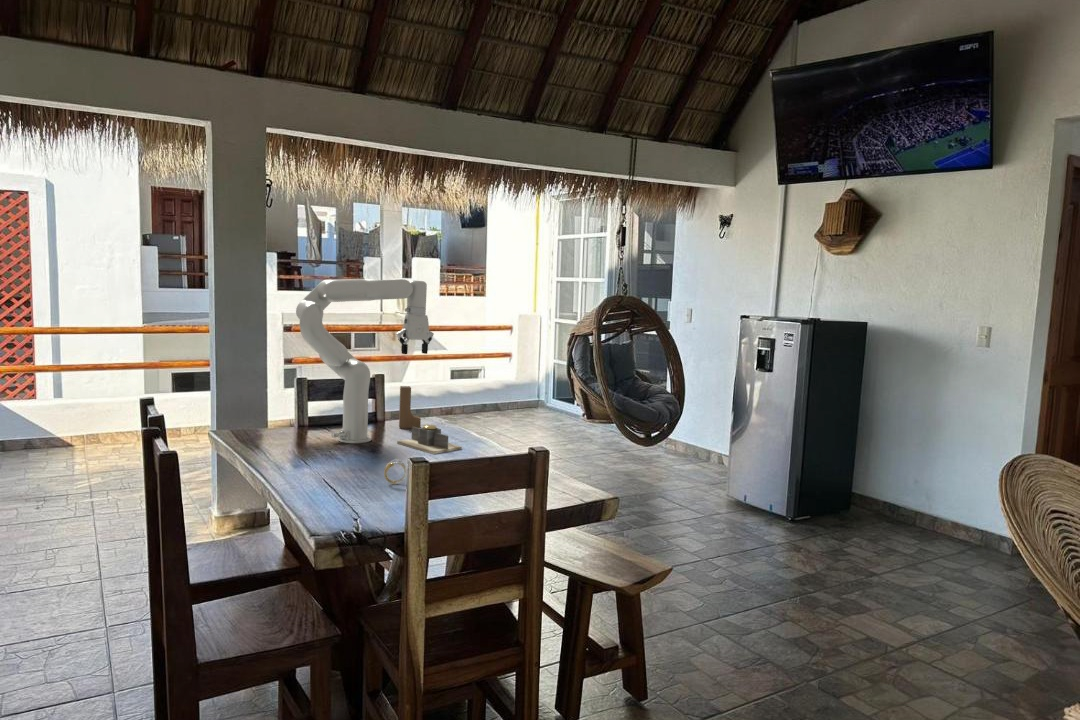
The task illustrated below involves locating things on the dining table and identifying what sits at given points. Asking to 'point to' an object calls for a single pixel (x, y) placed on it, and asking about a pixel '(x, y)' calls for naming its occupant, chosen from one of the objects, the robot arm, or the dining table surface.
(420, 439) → the hinge base
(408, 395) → the wooden block
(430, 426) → the round gold knob
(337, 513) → the dining table surface
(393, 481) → the ring
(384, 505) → the dining table surface
